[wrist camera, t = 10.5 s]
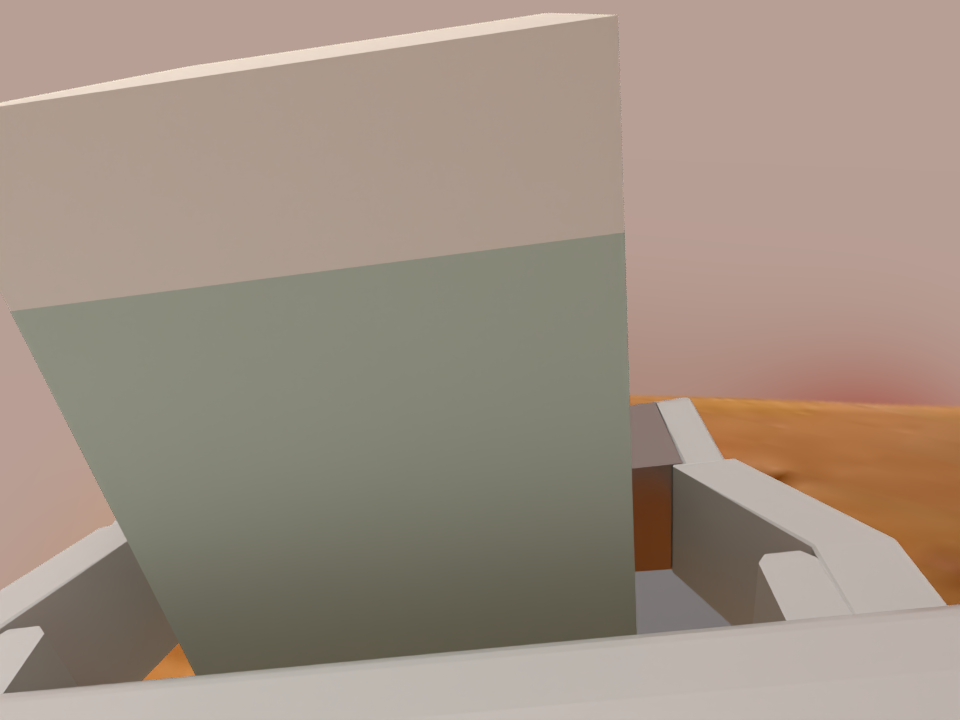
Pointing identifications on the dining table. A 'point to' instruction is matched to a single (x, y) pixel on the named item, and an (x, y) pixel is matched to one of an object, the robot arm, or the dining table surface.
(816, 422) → the dining table surface
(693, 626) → the rubber mat
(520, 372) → the sage block
